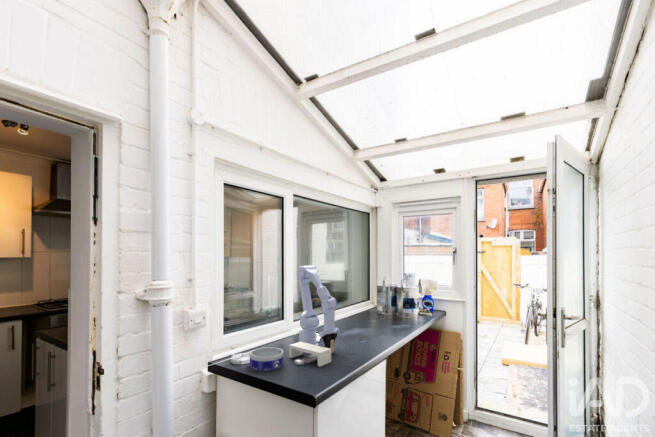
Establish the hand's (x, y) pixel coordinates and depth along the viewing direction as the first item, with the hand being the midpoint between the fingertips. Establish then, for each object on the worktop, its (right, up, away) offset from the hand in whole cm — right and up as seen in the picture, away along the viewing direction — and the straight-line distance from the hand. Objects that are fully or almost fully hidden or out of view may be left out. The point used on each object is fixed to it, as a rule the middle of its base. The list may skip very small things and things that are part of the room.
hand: (329, 348), depth 167 cm
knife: (-8, -6, +34) cm, 35 cm away
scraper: (-6, -1, -7) cm, 9 cm away
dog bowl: (-29, 0, -19) cm, 35 cm away
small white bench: (-9, -1, -12) cm, 15 cm away
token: (-14, 0, -17) cm, 22 cm away
